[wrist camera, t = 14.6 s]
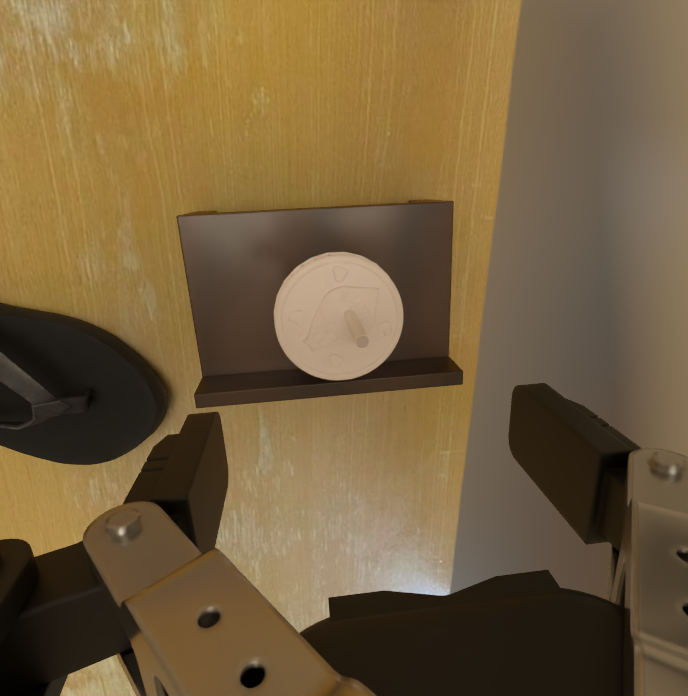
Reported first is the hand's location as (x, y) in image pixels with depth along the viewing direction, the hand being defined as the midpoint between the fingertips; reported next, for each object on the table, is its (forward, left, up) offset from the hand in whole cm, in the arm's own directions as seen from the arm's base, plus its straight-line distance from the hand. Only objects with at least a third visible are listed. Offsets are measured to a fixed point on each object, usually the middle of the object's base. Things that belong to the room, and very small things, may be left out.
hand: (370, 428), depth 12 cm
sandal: (+27, +3, -26) cm, 38 cm away
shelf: (0, +1, -26) cm, 26 cm away
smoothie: (0, 0, -20) cm, 20 cm away
